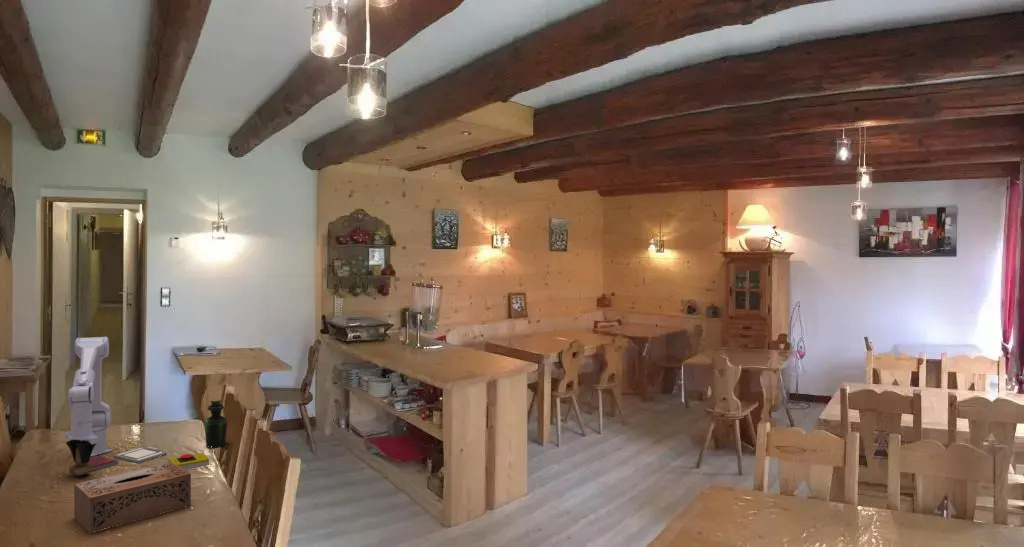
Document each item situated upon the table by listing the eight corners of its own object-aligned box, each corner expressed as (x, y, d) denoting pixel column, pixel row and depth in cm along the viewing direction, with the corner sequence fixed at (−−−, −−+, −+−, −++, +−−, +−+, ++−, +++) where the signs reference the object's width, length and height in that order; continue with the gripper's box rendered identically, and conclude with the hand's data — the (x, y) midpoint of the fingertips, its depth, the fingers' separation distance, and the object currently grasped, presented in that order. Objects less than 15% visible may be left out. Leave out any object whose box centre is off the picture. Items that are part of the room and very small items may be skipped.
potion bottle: (202, 449, 239) (202, 402, 238) (206, 443, 247) (206, 397, 246) (225, 448, 241) (225, 401, 240) (228, 442, 249) (229, 397, 248)
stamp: (69, 473, 208) (69, 448, 208) (84, 468, 213) (84, 444, 212) (78, 475, 206) (78, 450, 206) (94, 471, 211) (94, 446, 210)
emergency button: (163, 455, 220) (209, 447, 229) (163, 468, 220) (209, 459, 229) (168, 462, 213) (216, 454, 222) (168, 475, 213) (216, 466, 222)
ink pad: (76, 466, 218) (76, 462, 218) (99, 459, 226) (99, 455, 226) (94, 470, 214) (94, 466, 214) (117, 463, 222) (117, 459, 222)
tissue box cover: (171, 493, 197) (171, 462, 196) (190, 506, 187) (190, 473, 187) (74, 518, 177) (74, 484, 177) (90, 534, 168) (89, 497, 168)
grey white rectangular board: (112, 457, 228) (112, 453, 228) (141, 449, 238) (141, 444, 238) (138, 463, 222) (138, 459, 222) (166, 454, 232) (166, 450, 232)
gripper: (55, 421, 208) (55, 462, 209) (82, 427, 202) (83, 469, 203) (77, 416, 215) (77, 455, 215) (104, 422, 209) (104, 462, 209)
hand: (81, 461), depth 209 cm, fingers closed on stamp, 3 cm apart
